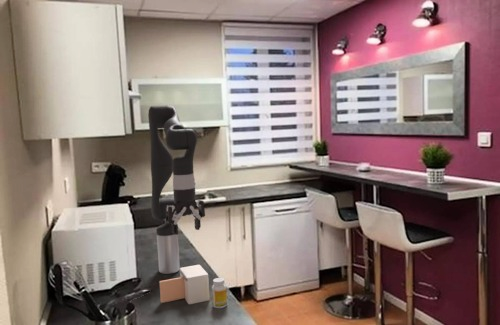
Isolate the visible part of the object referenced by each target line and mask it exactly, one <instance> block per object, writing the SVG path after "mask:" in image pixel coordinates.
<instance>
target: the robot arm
mask: <svg viewBox="0 0 500 325" xmlns="http://www.w3.org/2000/svg"><path fill="white" fill-rule="evenodd" d="M148 126H149V138H150V140H149V141H150V172H151V173H150V174H151V215H152V218H153V219H154V220H165V223H163V224H161V225H159V226H158V227H156V230H155V231H156V244H157V246H156V247H157V257H158V258H157V259H158V272H159V273H160V274H162V275H163V274H164V275H166V274H167V275H169V274H175V273H177V272H179V269H180V268H181V266H180V251H179V250H180V249H179V248H180V247H179V237H178V236H179V226H178V222H179V220H181V218H182V217H186V216H190V215H192V217H194V229H195V230H196V231H199V230H200V228H201V219H202V218H205V216H206V209H205V202H204V200H201V199H197V200H196V198H197V197H196V182H195V175H194V155H195V151H196V147H197V142H198V137H197V136H198V134H197V133H196V131H195V130H193V129H192V128H185V126H184V125H183V123H181V121H180V117H179V115H178V111H177V110H176V108H175V107H174V106H173V105H168V104H167V105H152V106H150V107H149V109H148ZM159 129H163V132H164V135H165V142H166V143H165V144H164V142H163V141H162V139H161V137H160V134H159ZM170 150H171V151H183V150H185V153H184V154H181V155H180V156H176V157H174V158H173V155H172V153H171V152H170ZM171 177H172V187H173V188H172V189H173V196H172V197H171V196H170V197H161V195H162V192H163V190H164V187H165V186H166V185H167V183H168V182H169V181H170V179H171ZM196 206H197V210H198V211H197V210H196Z"/></svg>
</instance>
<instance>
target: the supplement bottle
mask: <svg viewBox="0 0 500 325" xmlns="http://www.w3.org/2000/svg"><path fill="white" fill-rule="evenodd" d="M212 284H213V285H211V303H212V304H211V306H212V307H213V308H215V309H223V308H225V307H227V305H228V296H227V285H226V284H225V279H224V278H223V277H216V278H213V280H212Z"/></svg>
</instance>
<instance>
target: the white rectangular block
mask: <svg viewBox="0 0 500 325" xmlns="http://www.w3.org/2000/svg"><path fill="white" fill-rule="evenodd" d="M178 272H179V278H180V277H184V285H185V298H184V299H185V301H186V302H187V304H188V305H193V304H197V303H202V302H209V301H210V300H211V299H210V282H209V280H210V279H209V274H208V272H207V271H206V270H205V269H204V268H203V266H202V265H201V264H195V265H189V266H184V267H183V266H182V267H180V269H179V271H178Z"/></svg>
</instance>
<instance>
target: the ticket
mask: <svg viewBox="0 0 500 325" xmlns="http://www.w3.org/2000/svg"><path fill="white" fill-rule="evenodd" d="M159 293H160V294H159V295H160V297H159V298H160V303H167V302H171V301H177V300H178V301H179V300H182V299H185V285H184V277H180V276H179V277H176V278H169V279H165V280H159Z"/></svg>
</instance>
